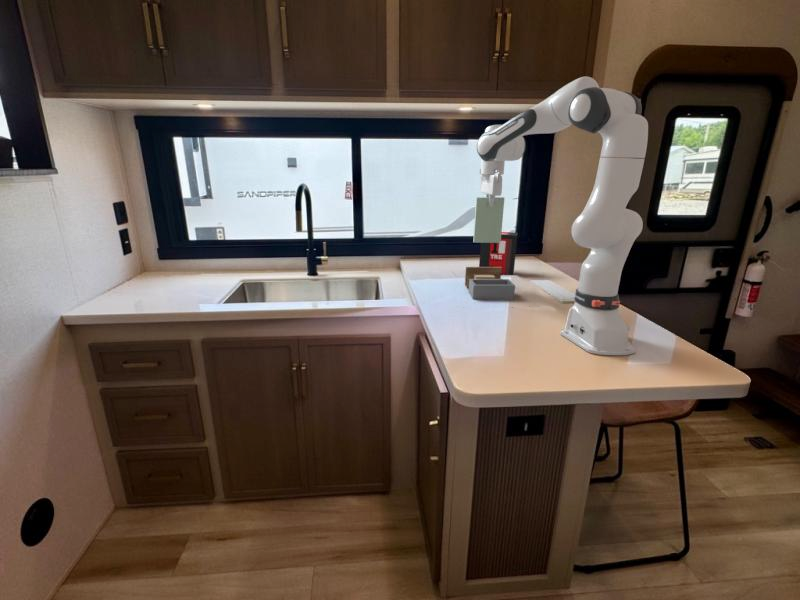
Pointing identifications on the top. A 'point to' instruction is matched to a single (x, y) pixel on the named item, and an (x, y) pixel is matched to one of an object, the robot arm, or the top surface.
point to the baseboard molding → (555, 290)
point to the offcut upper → (484, 277)
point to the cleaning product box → (500, 253)
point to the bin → (491, 289)
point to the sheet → (488, 220)
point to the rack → (481, 273)
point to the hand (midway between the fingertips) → (489, 206)
